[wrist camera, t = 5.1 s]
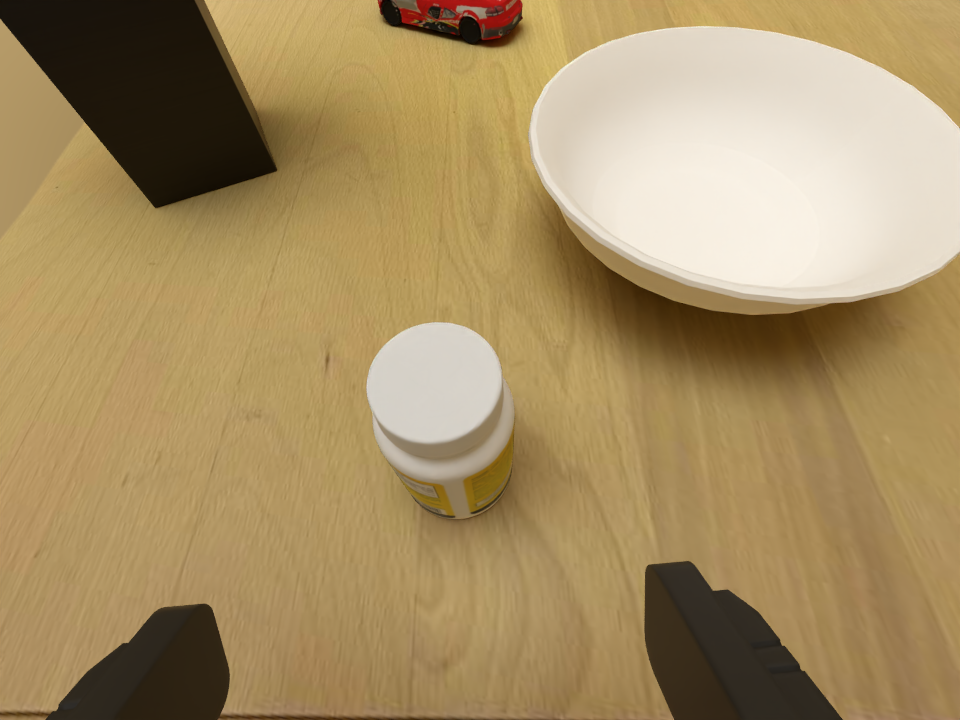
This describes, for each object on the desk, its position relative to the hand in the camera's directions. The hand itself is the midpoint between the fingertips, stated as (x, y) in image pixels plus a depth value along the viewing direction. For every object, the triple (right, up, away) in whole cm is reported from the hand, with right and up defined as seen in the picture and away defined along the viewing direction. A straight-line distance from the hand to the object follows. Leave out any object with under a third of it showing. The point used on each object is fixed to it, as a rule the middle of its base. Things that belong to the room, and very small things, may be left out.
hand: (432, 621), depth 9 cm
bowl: (+13, +12, +19) cm, 26 cm away
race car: (-2, +35, +32) cm, 47 cm away
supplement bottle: (0, 0, +12) cm, 12 cm away
